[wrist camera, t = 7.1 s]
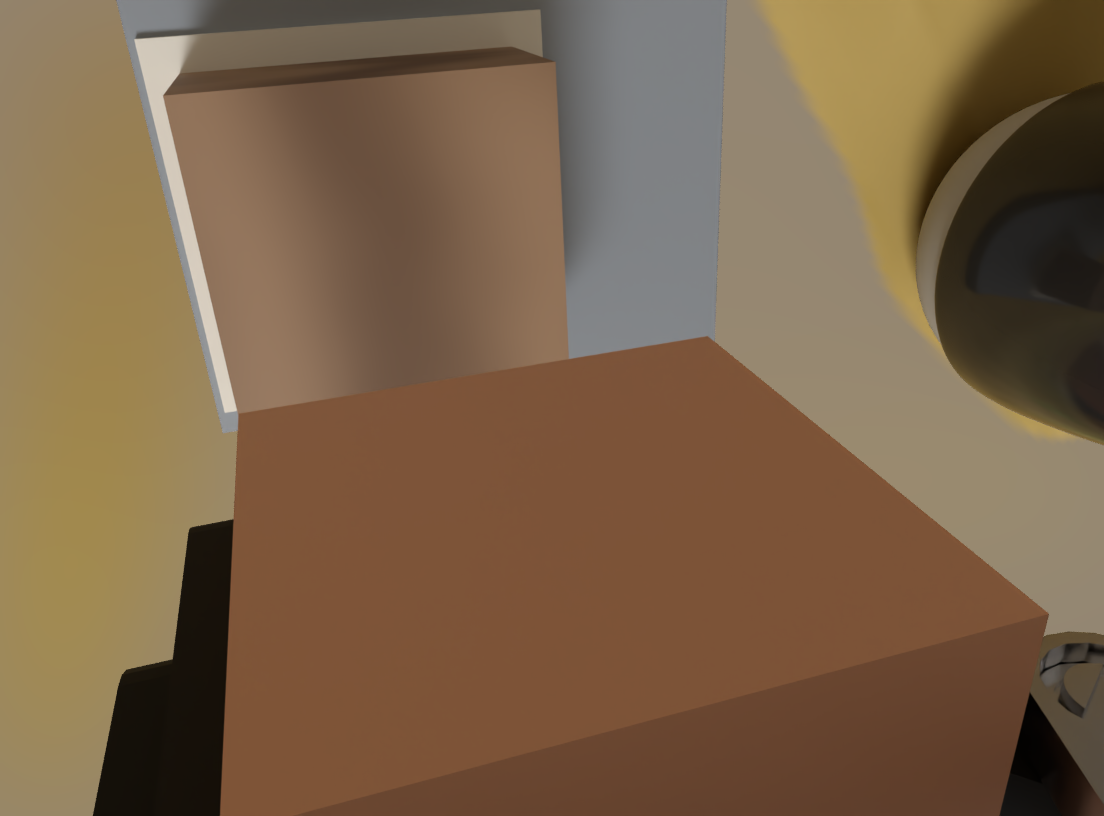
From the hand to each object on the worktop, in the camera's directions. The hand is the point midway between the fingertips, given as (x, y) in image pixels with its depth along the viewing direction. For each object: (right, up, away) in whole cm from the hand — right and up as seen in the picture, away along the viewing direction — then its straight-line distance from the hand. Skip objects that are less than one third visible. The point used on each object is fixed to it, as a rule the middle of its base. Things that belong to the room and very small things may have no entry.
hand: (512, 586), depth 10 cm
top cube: (0, 0, 0) cm, 0 cm away
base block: (-4, +7, +14) cm, 16 cm away
